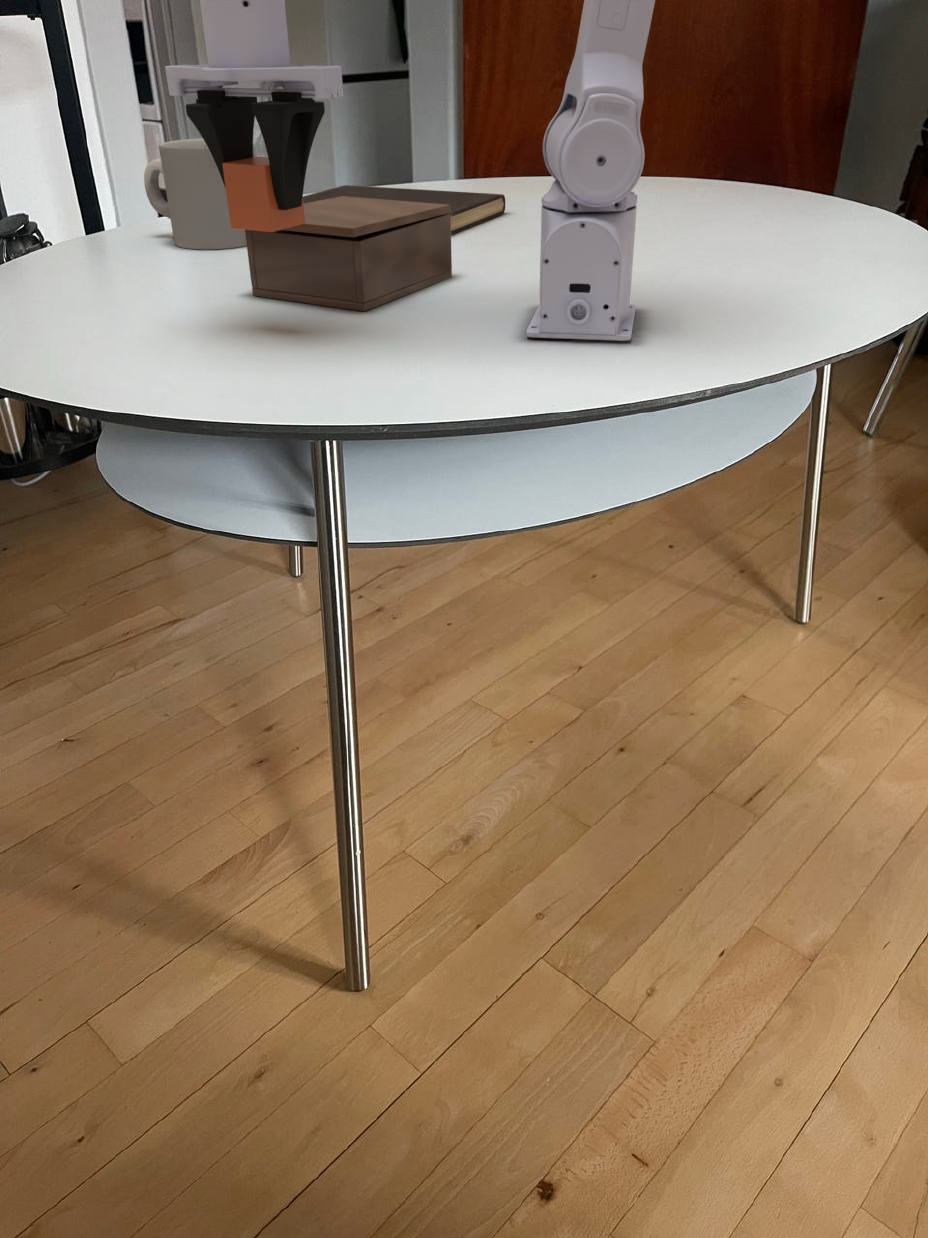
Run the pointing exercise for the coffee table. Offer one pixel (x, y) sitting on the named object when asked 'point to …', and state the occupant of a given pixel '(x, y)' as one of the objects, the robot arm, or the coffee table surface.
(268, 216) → the block
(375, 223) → the lid
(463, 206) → the hardcover book
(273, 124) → the robot arm
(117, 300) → the coffee table surface
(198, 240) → the coffee mug
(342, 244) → the box
